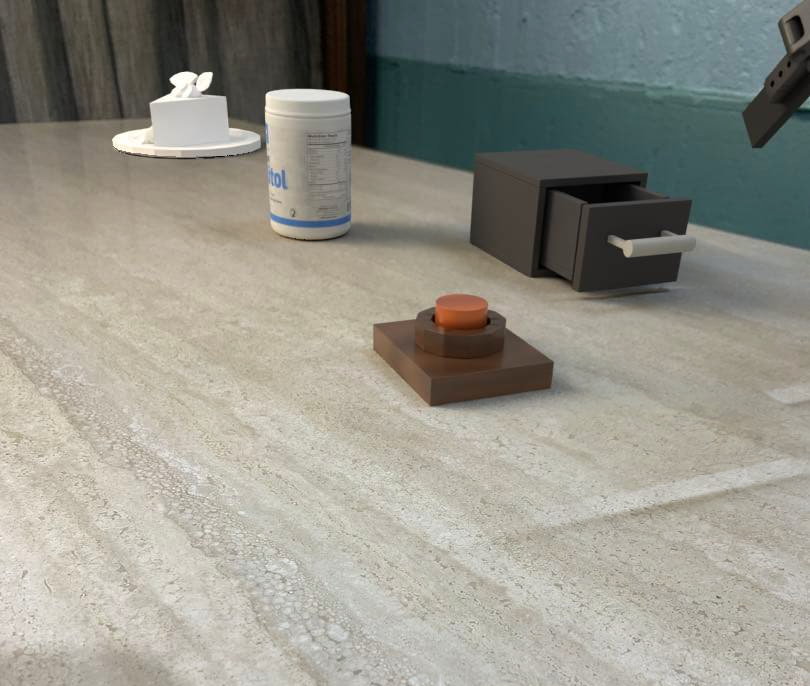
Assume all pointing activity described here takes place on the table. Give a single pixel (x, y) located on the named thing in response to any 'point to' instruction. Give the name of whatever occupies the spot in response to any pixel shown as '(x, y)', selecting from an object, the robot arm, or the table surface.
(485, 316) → the button
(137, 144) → the white cake on plate
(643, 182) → the small cabinet
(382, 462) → the table surface
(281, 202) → the supplement tub
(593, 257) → the drawer
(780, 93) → the robot arm
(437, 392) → the block
